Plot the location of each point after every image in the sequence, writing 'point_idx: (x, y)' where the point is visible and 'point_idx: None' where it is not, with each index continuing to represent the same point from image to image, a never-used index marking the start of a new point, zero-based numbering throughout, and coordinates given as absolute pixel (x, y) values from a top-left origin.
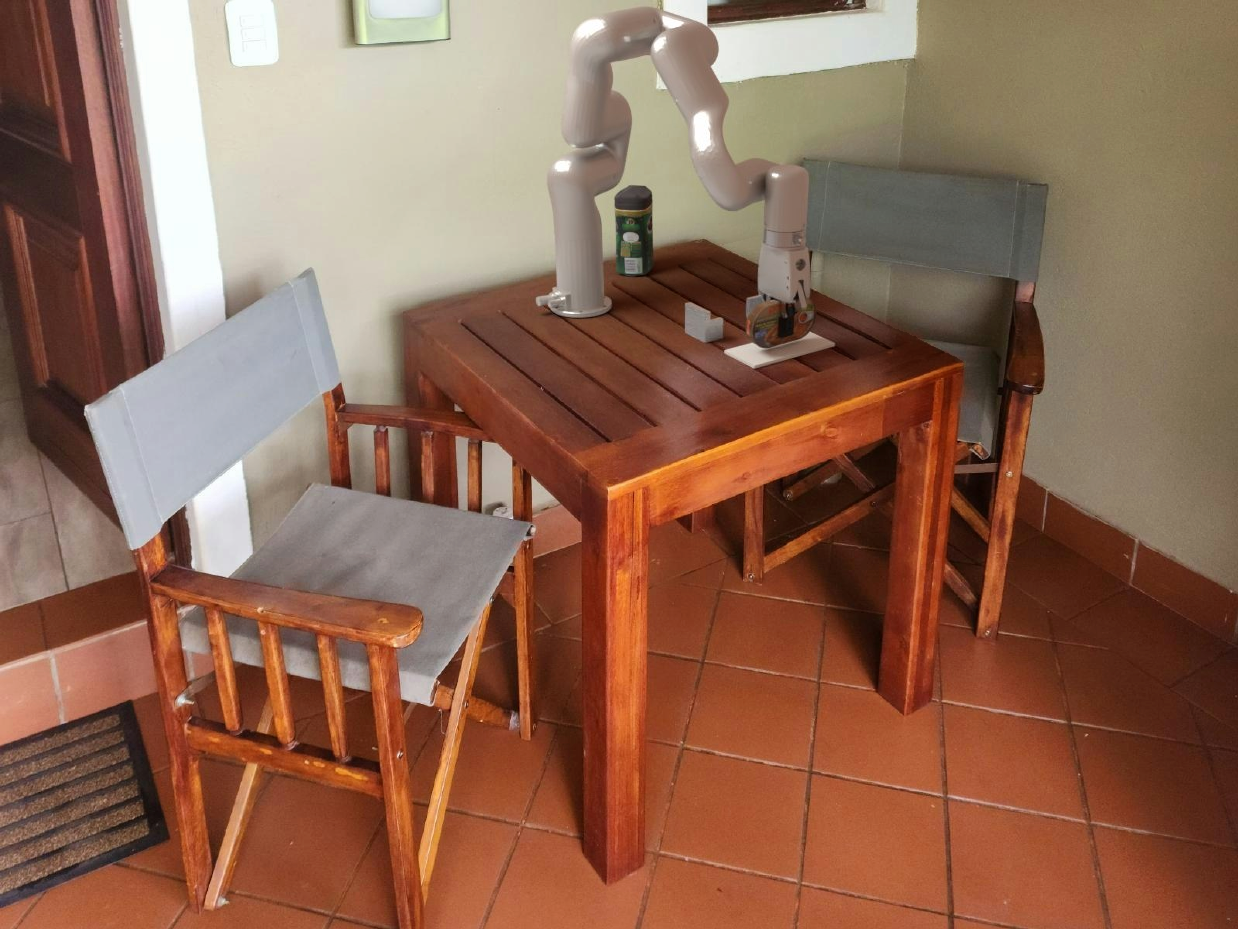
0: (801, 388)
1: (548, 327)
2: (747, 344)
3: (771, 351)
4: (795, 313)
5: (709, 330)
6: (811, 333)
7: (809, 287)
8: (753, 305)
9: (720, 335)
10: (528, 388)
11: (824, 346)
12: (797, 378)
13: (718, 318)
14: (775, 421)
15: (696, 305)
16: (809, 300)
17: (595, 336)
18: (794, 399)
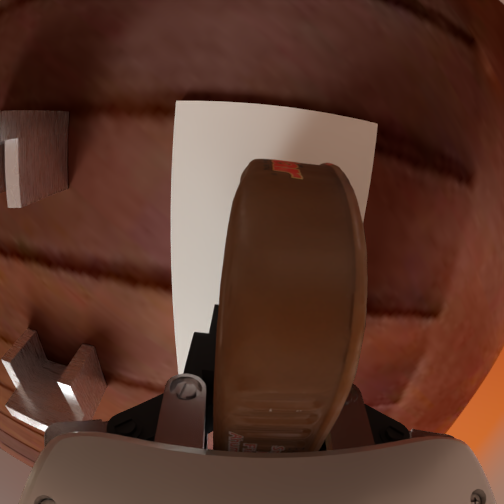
0: (436, 383)
1: (10, 428)
2: (180, 356)
3: None
4: (369, 413)
5: (93, 399)
6: (237, 110)
7: (491, 501)
8: None
9: (92, 358)
10: None
11: (370, 177)
12: (413, 369)
13: (66, 390)
14: None
15: (26, 417)
16: (345, 264)
17: (40, 431)
18: (439, 407)
